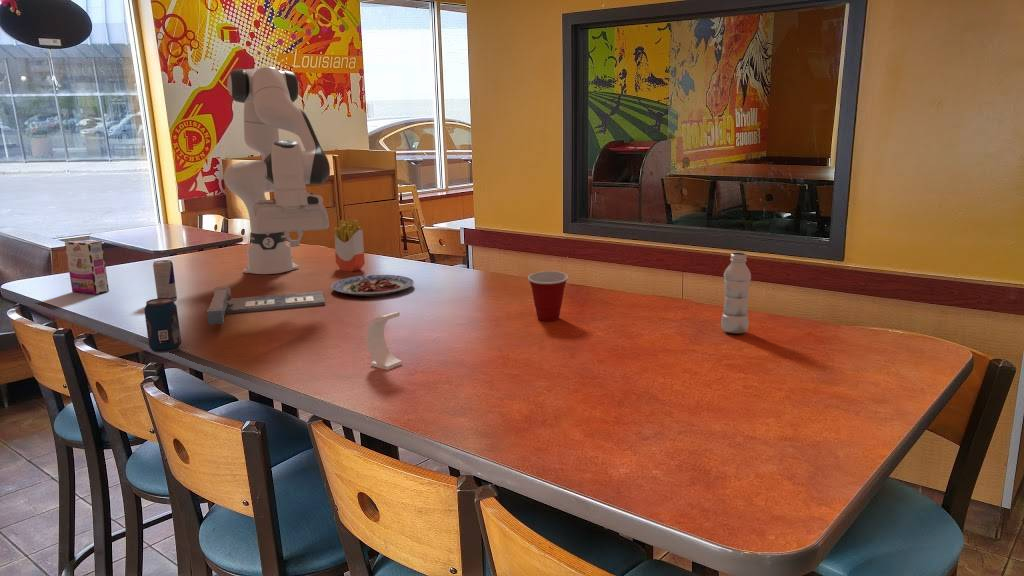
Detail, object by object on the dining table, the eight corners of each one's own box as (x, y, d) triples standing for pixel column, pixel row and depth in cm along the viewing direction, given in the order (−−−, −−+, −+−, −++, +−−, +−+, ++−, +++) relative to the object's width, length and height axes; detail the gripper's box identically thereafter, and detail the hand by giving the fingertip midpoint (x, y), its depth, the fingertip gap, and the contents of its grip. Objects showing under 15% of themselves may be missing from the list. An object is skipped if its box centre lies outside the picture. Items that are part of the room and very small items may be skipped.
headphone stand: (387, 370, 156) (384, 317, 153) (367, 365, 160) (364, 312, 157) (402, 364, 160) (399, 312, 157) (382, 359, 163) (380, 308, 160)
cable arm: (231, 297, 211) (230, 285, 210) (225, 323, 184) (223, 310, 183) (215, 298, 210) (214, 286, 209) (206, 325, 183) (204, 311, 182)
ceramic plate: (406, 278, 245) (406, 269, 245) (421, 295, 221) (421, 286, 221) (328, 284, 237) (328, 276, 237) (335, 303, 214) (335, 293, 213)
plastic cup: (522, 322, 191) (521, 278, 188) (535, 311, 201) (535, 269, 198) (561, 325, 187) (561, 280, 185) (572, 315, 197) (573, 272, 194)
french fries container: (355, 272, 254) (351, 222, 249) (335, 269, 260) (332, 219, 256) (365, 270, 257) (362, 220, 253) (345, 267, 264) (342, 218, 260)
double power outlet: (216, 303, 215) (215, 295, 214) (322, 294, 224) (321, 287, 223) (213, 315, 202) (212, 307, 201) (325, 305, 211) (324, 297, 210)
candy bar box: (110, 291, 231) (102, 241, 227) (96, 295, 226) (88, 243, 222) (85, 288, 235) (77, 239, 231) (71, 292, 230) (63, 241, 227)
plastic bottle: (734, 338, 175) (739, 257, 171) (714, 331, 181) (719, 252, 177) (753, 334, 178) (759, 254, 174) (733, 327, 184) (738, 250, 180)
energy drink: (180, 298, 221) (175, 259, 218) (170, 302, 216) (165, 263, 213) (164, 298, 221) (159, 259, 219) (154, 302, 216) (148, 263, 213)
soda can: (150, 347, 174) (144, 299, 171) (182, 343, 177) (176, 295, 174) (149, 355, 168) (142, 305, 165) (181, 351, 170) (175, 302, 168)
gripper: (252, 201, 200) (256, 250, 203) (327, 198, 206) (331, 246, 209) (252, 199, 205) (257, 247, 209) (326, 196, 211) (329, 242, 215)
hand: (294, 246), depth 209 cm, fingers closed
